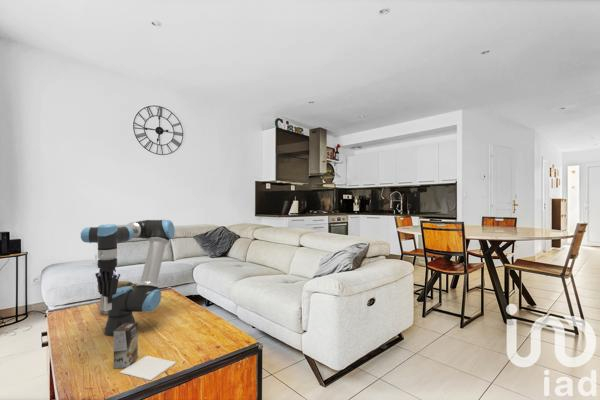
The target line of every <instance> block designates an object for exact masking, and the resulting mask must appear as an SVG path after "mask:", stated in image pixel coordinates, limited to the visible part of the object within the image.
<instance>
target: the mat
mask: <svg viewBox="0 0 600 400" xmlns="http://www.w3.org/2000/svg"><path fill="white" fill-rule="evenodd" d="M176 364H177V361H173V360H168V359H164V358H160V357H155V356H150V355H145V356H144V357H142V358H141V359H139V360H137V361H136V362H135V361H134V362H133V363H132V364H131V365H130V366H129V367H127V368H123V369H122V370H120V371H119V374H121V375H126V376H130V377H133V378H137V379H141V380H146V381H149V382H152V381H154V380H155V379H156V378H157V377H158V376H160V375H161V374H163V373H164V372H166V371H167V370H169V369H170V368H171V367H173V366H175V365H176Z"/></svg>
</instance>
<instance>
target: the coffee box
mask: <svg viewBox="0 0 600 400" xmlns="http://www.w3.org/2000/svg"><path fill="white" fill-rule="evenodd" d="M138 325H139V322H136V321H135V322H132V323H124V324H122V325H121V326H120V327H118V328H117V329H116V330H114V336H113V369H125V368H127V367H129V366H130V365H132V364H134V363H135V361H136V360H137V359H138V357H139V348H138V347H139V340H138V339H139V338H138V337H139V329H138V328H139V326H138Z"/></svg>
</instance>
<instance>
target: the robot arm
mask: <svg viewBox="0 0 600 400" xmlns="http://www.w3.org/2000/svg"><path fill="white" fill-rule="evenodd" d="M174 237H175V226H174V223H173V221H171V220H169V219H143V220H139V221H131V222H129V223H126V224H119V225H118V224H117V225H116V224H113V223H112V224H110V223H108V224H100V225H98V226H94V227H93V226H90V227H84V228H83V229H81V232H80V239H81V240H82V241H81V242H84V243H89V244H91V243H93V244H94V243H97V259H98V260H97V268H98V269H99V272H95V277H96V280H97V286H98V287H97V289H98V288H99V292H98V293H99V295H101V294H102V296H103V302H104V311H108V315H107V320H106V323H105V327H104V329H103V331H104V335H105V336H108V337H109V336H110V337H114V330H116V329H117V328H118V327H120V326H121V325H122V324H124V323H132V322H136V321H135V318H134V315H133V313H134V312H138V313H139V312H140V313H149V312H153V311H155V310H156V309H157V308H158V307H159V305H160V302H161V299H162V291H161V290H160V289H159V288H160V287H159V285H158V281H159V276H160V270H161V267H162V262H163V257H164V253H165V248H166V245H167V244H169V243H170V240H171V239H173V238H174ZM132 239H143V240H144V239H147V240H148V242H149V245H148V250H147V253H146V254H147V255H146V258H145V262H144V266H143V270H142V274H141V278H140V282H139V283H137V284H138V285H137V286H136V290H132V287H131V286H126V287H121V288H117V285H118V281H120V277H121V274H120V273H118V272H117V270H116V267H118V258H117V257H118V244H120V243H127V242H129V241H131V240H132Z"/></svg>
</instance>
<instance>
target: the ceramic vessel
mask: <svg viewBox="0 0 600 400" xmlns="http://www.w3.org/2000/svg"><path fill="white" fill-rule="evenodd" d="M138 284H139V283H133V282H131V281H128V280H118V285H117V288H121V287H126V286H131V287H132V290H136V286H137V285H138ZM96 286H97V292H98V293H99V288H98V285H96ZM98 310H99V312H100V313H101V314H103V315H105V316H108V311H104V302H103V296H102V294H100V301H99V307H98Z"/></svg>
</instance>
